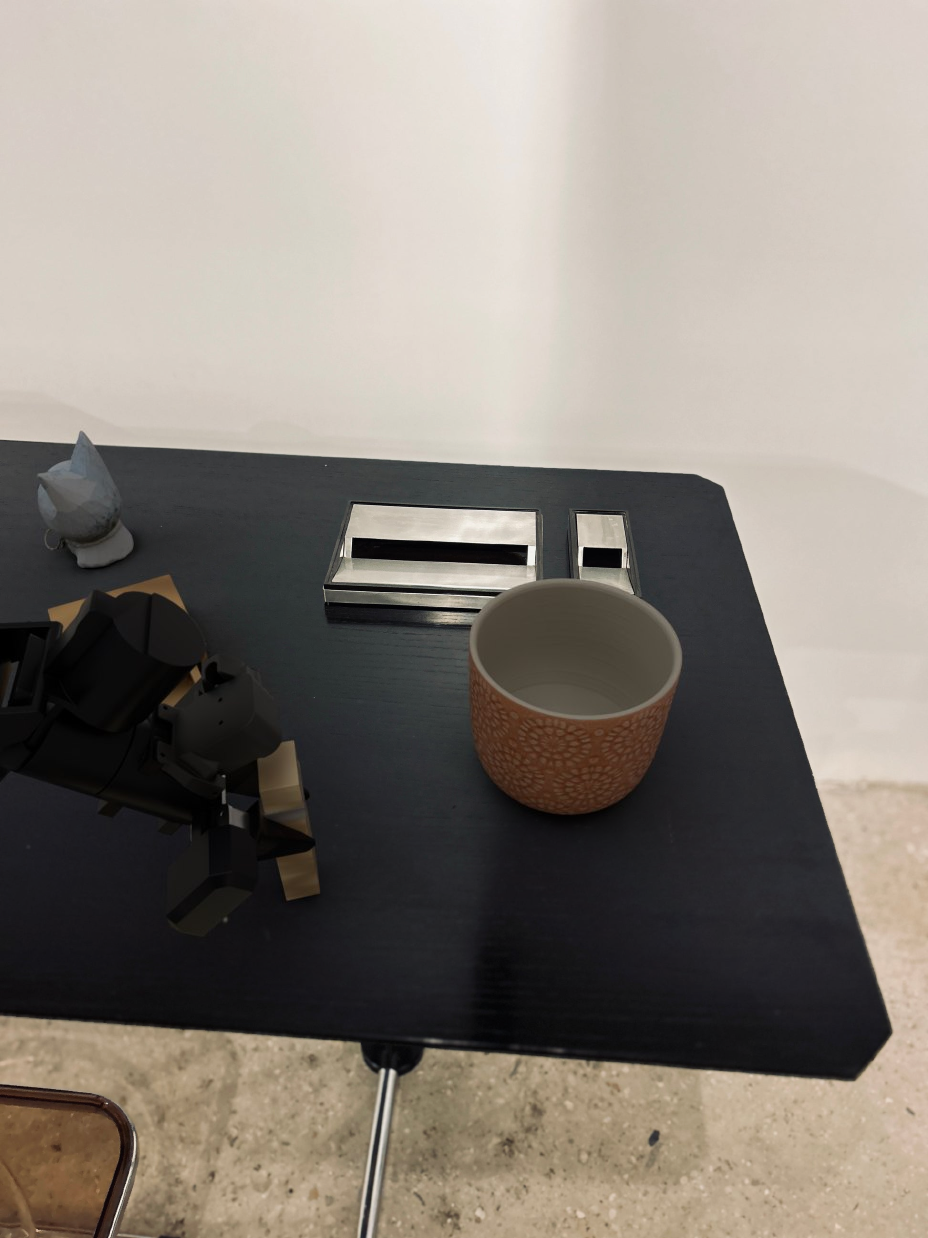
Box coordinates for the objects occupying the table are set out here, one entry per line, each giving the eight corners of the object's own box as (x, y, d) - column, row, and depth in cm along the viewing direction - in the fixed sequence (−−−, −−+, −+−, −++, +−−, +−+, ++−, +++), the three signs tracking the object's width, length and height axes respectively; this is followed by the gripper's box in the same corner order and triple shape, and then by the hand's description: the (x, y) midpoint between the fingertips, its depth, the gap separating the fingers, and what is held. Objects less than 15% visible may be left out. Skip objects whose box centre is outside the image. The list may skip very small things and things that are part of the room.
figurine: (99, 524, 102) (63, 417, 93) (151, 542, 99) (119, 434, 89) (37, 563, 96) (-10, 452, 86) (91, 584, 92) (48, 472, 83)
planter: (679, 829, 67) (717, 706, 57) (483, 855, 65) (489, 731, 55) (618, 689, 80) (641, 569, 70) (454, 707, 78) (454, 586, 68)
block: (285, 902, 60) (257, 793, 51) (281, 856, 63) (254, 745, 54) (321, 894, 61) (300, 785, 52) (316, 849, 64) (295, 738, 55)
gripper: (182, 795, 39) (406, 871, 48) (187, 578, 53) (361, 669, 62) (64, 913, 43) (294, 962, 52) (98, 680, 56) (274, 752, 66)
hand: (309, 821), depth 58 cm, fingers closed on block, 4 cm apart
